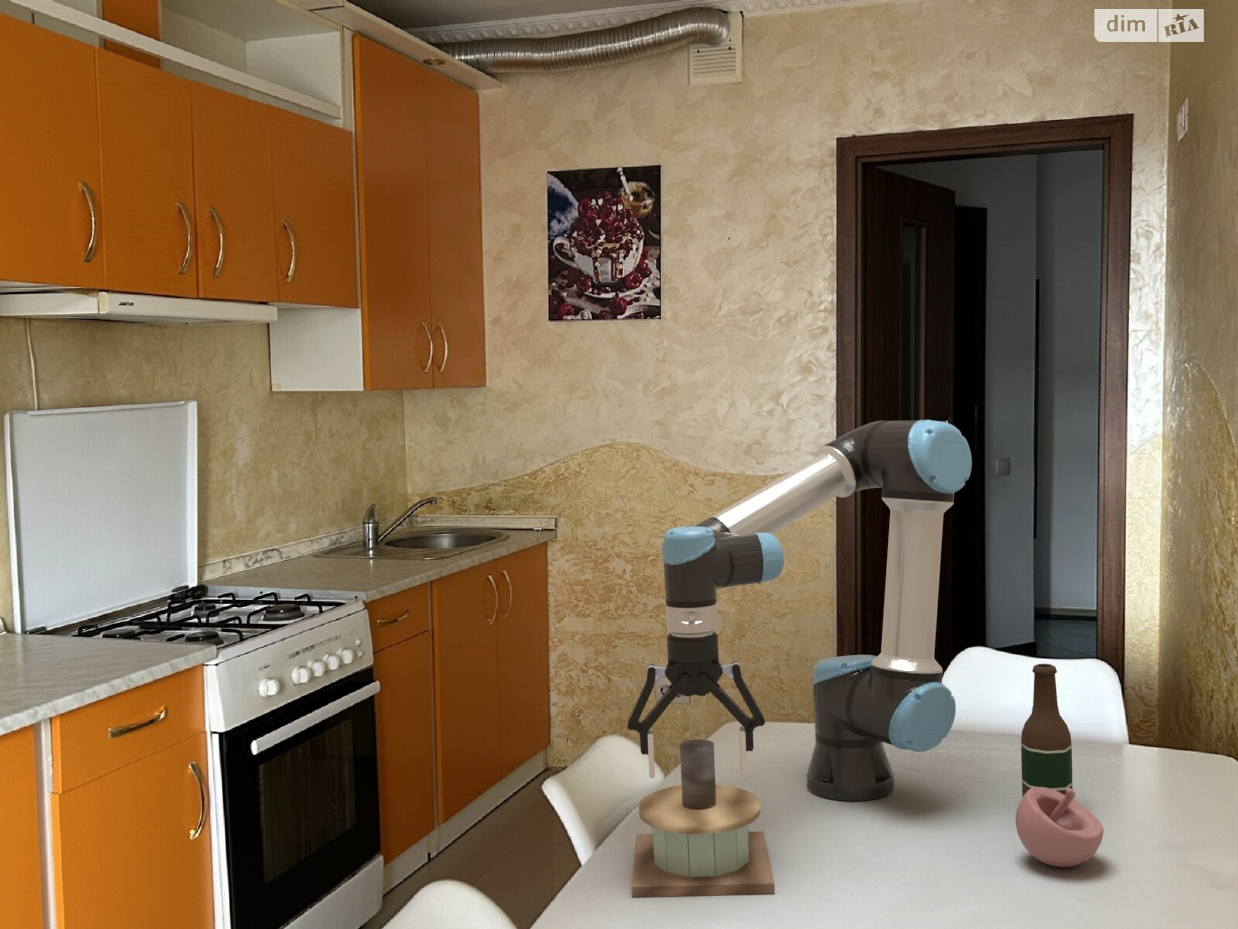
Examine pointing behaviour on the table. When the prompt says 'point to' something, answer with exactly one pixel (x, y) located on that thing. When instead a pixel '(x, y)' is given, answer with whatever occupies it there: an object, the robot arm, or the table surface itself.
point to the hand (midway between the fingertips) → (697, 774)
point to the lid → (699, 798)
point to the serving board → (740, 882)
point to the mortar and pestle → (1057, 827)
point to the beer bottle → (1046, 738)
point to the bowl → (701, 852)
